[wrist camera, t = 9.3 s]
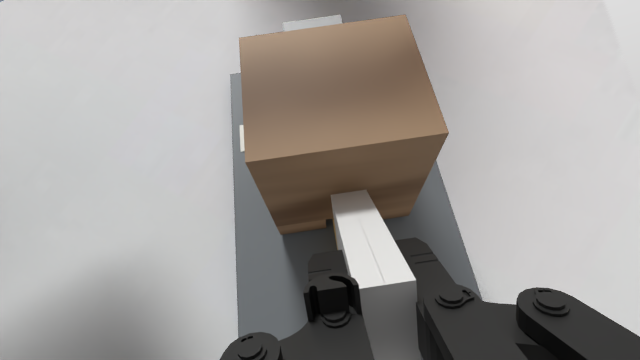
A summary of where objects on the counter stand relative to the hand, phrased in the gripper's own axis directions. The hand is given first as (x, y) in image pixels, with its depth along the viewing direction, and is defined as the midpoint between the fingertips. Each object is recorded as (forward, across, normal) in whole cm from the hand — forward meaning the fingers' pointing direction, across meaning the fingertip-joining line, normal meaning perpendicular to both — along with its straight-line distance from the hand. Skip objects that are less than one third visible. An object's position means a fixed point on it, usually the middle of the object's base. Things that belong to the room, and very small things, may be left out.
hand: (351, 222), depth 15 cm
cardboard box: (+6, 0, 0) cm, 6 cm away
